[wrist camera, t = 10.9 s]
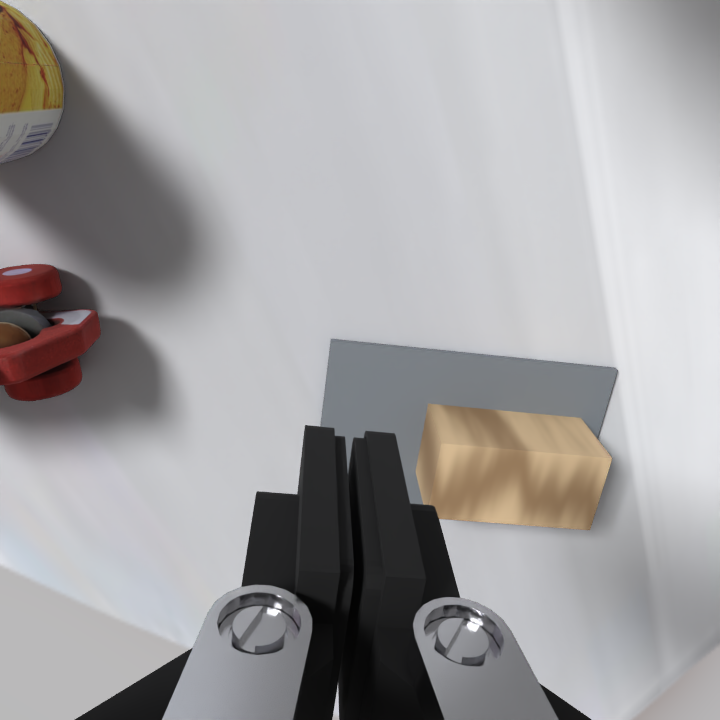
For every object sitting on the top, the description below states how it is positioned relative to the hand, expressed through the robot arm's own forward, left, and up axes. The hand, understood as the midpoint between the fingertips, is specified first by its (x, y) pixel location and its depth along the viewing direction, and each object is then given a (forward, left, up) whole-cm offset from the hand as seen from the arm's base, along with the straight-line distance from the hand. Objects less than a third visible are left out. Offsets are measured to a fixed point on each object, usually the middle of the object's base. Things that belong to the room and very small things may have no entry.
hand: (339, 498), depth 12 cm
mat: (+13, +10, -27) cm, 32 cm away
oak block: (+13, +8, -24) cm, 28 cm away
